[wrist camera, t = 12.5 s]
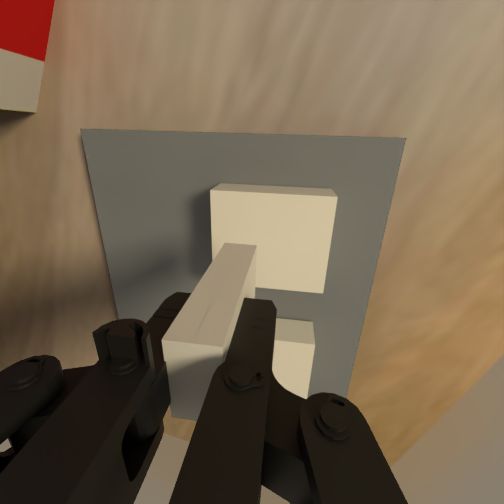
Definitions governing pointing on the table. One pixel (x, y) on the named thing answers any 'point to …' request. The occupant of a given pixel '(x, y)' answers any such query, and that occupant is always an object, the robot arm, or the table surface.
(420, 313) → the table surface
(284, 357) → the tile
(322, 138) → the slate board
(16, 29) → the puzzle toy
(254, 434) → the robot arm
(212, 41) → the table surface
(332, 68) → the table surface
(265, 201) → the tile
